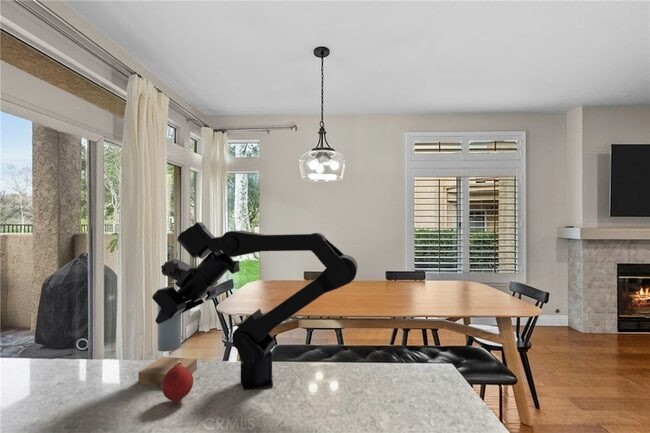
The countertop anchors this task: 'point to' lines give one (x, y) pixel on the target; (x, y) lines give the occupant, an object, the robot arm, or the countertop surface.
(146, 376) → the block
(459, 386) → the countertop surface
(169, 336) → the tumbler
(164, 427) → the countertop surface
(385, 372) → the countertop surface
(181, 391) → the onion
